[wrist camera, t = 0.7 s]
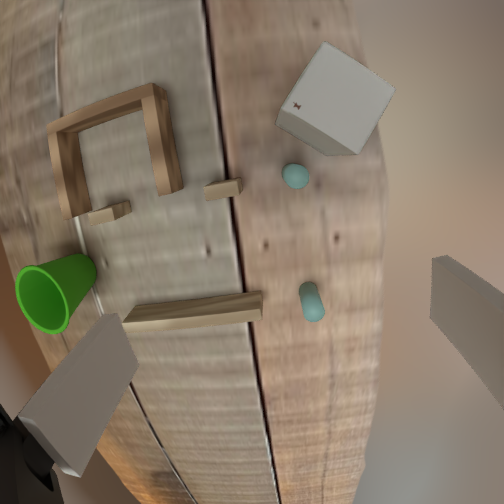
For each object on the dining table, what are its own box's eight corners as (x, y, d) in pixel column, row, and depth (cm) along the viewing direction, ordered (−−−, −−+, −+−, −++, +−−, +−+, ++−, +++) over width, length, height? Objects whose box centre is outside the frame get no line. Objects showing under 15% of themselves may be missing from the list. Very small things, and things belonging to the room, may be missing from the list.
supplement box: (327, 157, 35) (357, 159, 23) (272, 124, 34) (276, 108, 22) (357, 108, 33) (399, 89, 21) (304, 74, 32) (323, 37, 20)
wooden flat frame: (67, 126, 34) (46, 124, 29) (222, 77, 32) (215, 66, 27) (115, 317, 42) (101, 334, 38) (262, 300, 40) (262, 319, 36)
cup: (111, 302, 42) (74, 341, 31) (63, 293, 42) (23, 326, 31) (106, 242, 39) (62, 271, 29) (56, 237, 39) (9, 261, 29)
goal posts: (280, 164, 35) (283, 166, 29) (300, 162, 35) (307, 163, 29) (299, 300, 40) (304, 323, 35) (317, 297, 40) (325, 320, 34)
